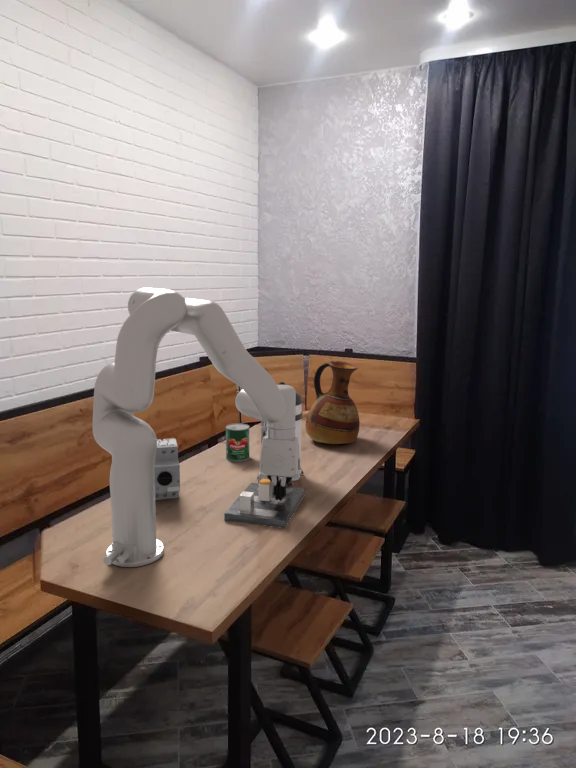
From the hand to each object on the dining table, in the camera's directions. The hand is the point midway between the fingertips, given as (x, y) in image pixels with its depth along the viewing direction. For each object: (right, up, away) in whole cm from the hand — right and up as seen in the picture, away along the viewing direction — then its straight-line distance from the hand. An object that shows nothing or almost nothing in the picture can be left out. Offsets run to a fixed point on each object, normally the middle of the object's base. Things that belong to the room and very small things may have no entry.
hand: (279, 498), depth 157 cm
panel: (-4, -3, +2) cm, 5 cm away
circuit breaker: (-32, -1, +7) cm, 33 cm away
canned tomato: (-15, +5, +41) cm, 44 cm away
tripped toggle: (-4, 0, +1) cm, 4 cm away
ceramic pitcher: (+18, +9, +61) cm, 64 cm away
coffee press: (0, +1, +22) cm, 22 cm away
